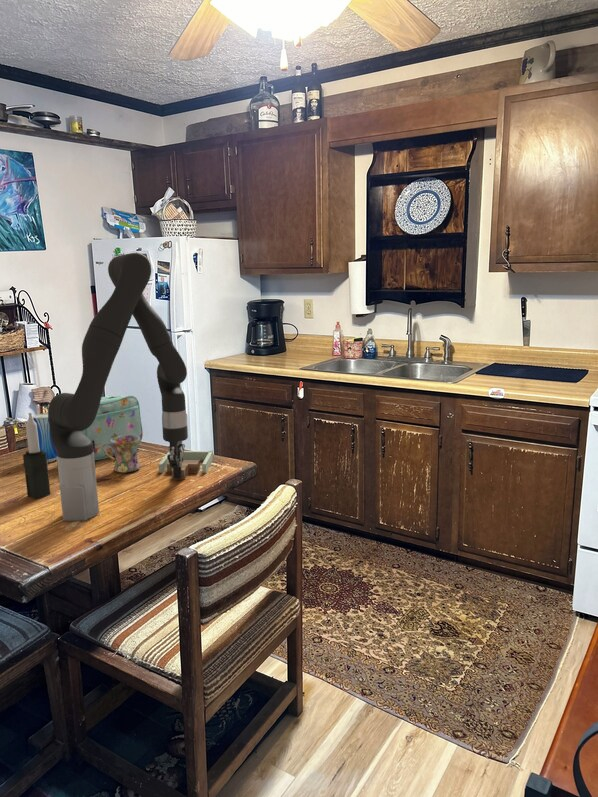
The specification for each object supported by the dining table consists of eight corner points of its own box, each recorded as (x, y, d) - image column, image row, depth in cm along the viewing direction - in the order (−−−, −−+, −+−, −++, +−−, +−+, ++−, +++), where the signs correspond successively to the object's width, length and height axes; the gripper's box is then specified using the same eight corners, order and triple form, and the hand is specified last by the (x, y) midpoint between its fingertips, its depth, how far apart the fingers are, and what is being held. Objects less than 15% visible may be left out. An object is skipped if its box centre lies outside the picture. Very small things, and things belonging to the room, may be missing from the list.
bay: (206, 472, 191) (205, 464, 190) (159, 472, 191) (158, 464, 191) (213, 459, 205) (213, 450, 204) (169, 459, 205) (169, 451, 204)
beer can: (34, 458, 208) (29, 414, 205) (60, 454, 211) (55, 411, 208) (35, 464, 201) (30, 419, 197) (61, 461, 204) (57, 416, 201)
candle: (52, 493, 174) (43, 411, 169) (37, 499, 170) (27, 415, 165) (41, 490, 177) (32, 409, 171) (25, 496, 173) (16, 413, 167)
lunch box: (87, 466, 199) (81, 404, 194) (67, 461, 204) (61, 401, 200) (146, 446, 221) (142, 390, 216) (127, 442, 226) (123, 387, 221)
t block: (194, 479, 185) (193, 470, 185) (162, 479, 185) (162, 470, 185) (200, 468, 195) (199, 460, 194) (170, 468, 195) (169, 460, 195)
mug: (143, 464, 200) (141, 434, 197) (139, 473, 191) (137, 442, 188) (107, 466, 198) (104, 436, 196) (101, 475, 189) (98, 444, 187)
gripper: (182, 430, 173) (185, 485, 177) (191, 419, 186) (194, 471, 190) (156, 430, 173) (160, 485, 177) (168, 419, 186) (171, 470, 190)
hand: (177, 477), depth 183 cm, fingers closed
